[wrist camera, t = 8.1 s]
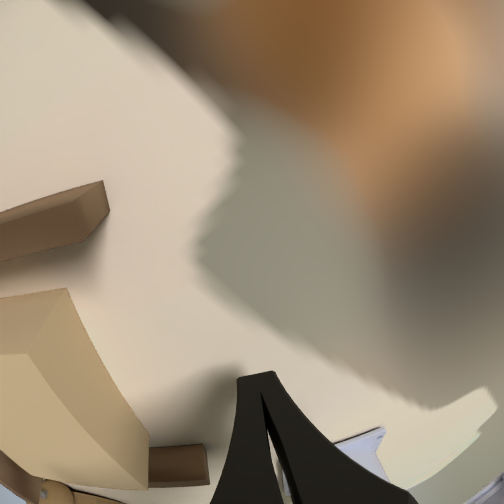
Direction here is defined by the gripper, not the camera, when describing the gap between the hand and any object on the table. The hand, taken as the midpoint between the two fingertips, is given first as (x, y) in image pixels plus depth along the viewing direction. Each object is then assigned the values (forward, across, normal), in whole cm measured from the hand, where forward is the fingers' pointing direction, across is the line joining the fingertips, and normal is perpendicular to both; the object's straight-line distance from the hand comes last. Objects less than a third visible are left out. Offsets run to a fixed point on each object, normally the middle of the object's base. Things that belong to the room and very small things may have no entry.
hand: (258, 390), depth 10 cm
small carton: (+2, +10, 0) cm, 11 cm away
